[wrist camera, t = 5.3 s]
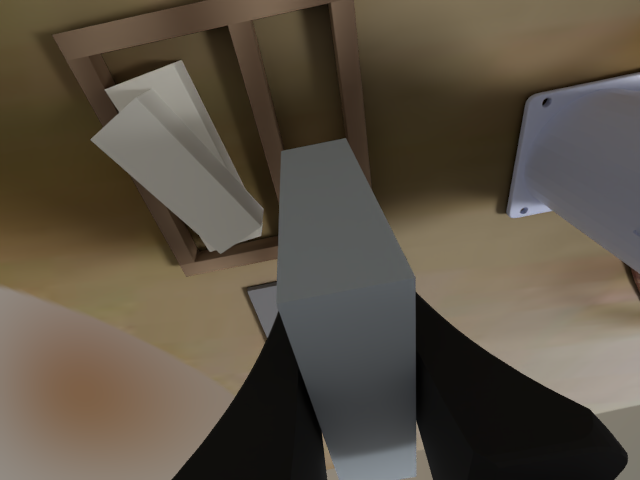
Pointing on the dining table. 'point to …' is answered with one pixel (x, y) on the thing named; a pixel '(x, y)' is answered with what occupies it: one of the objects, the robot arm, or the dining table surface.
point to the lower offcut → (179, 110)
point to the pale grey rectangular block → (348, 311)
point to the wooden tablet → (636, 278)
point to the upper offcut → (180, 171)
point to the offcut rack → (237, 13)
